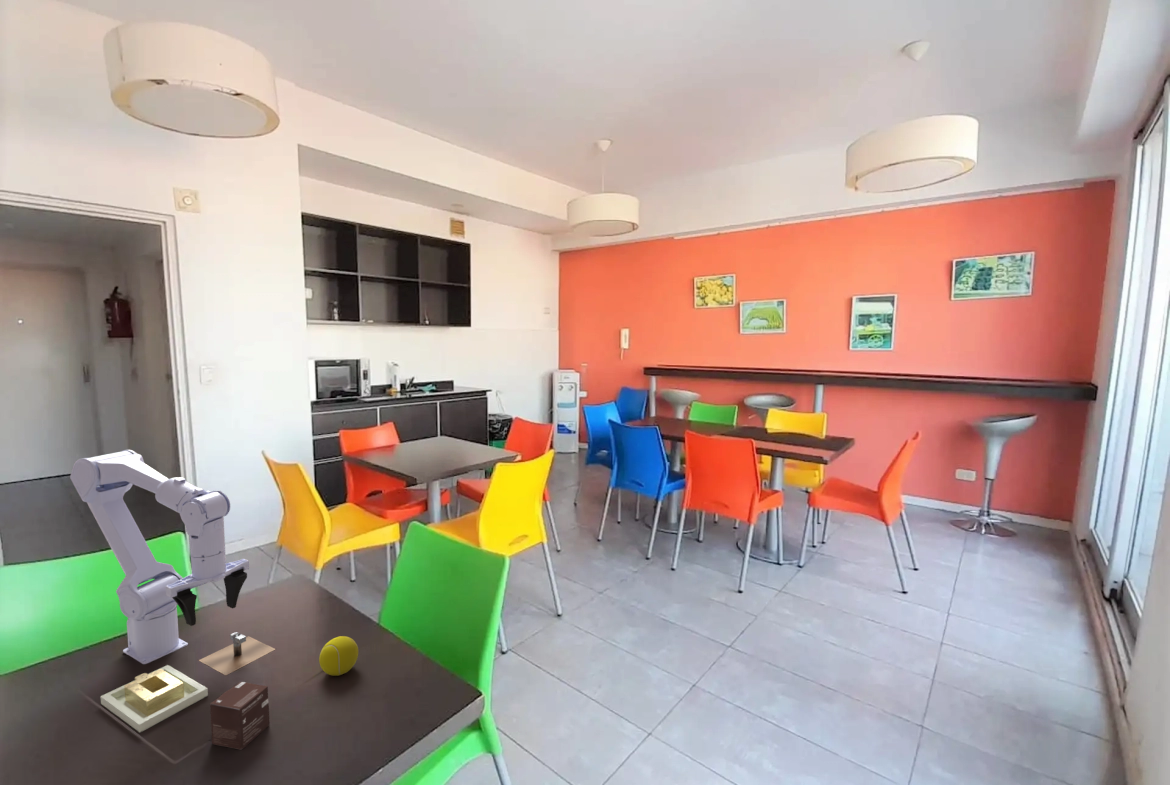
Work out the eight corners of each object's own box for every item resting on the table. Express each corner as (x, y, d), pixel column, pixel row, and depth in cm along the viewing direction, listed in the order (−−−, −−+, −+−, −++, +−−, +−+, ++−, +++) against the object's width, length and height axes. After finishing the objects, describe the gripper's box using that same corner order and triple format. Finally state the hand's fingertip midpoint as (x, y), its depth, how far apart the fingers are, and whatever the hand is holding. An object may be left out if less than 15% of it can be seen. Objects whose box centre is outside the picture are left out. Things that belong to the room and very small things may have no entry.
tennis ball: (339, 658, 109) (338, 626, 108) (365, 665, 106) (365, 633, 106) (312, 678, 102) (310, 645, 101) (339, 686, 100) (338, 652, 99)
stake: (230, 654, 108) (229, 634, 108) (237, 650, 110) (236, 631, 109) (240, 659, 107) (239, 639, 106) (247, 655, 108) (246, 636, 108)
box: (241, 751, 84) (238, 710, 83) (210, 745, 85) (208, 704, 84) (270, 724, 90) (269, 685, 89) (241, 718, 91) (240, 680, 90)
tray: (101, 705, 93) (100, 696, 93) (168, 673, 103) (167, 664, 102) (140, 734, 87) (139, 724, 87) (207, 697, 96) (207, 688, 96)
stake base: (198, 662, 106) (198, 660, 106) (248, 637, 115) (248, 636, 115) (225, 677, 102) (225, 675, 102) (275, 650, 111) (275, 649, 111)
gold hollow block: (147, 717, 90) (146, 701, 90) (122, 698, 95) (121, 683, 94) (184, 697, 95) (183, 682, 95) (158, 681, 100) (157, 666, 99)
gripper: (177, 570, 97) (181, 638, 98) (256, 543, 109) (259, 604, 111) (158, 562, 100) (162, 627, 101) (237, 537, 113) (240, 596, 114)
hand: (211, 615), depth 106 cm, fingers open, 7 cm apart
